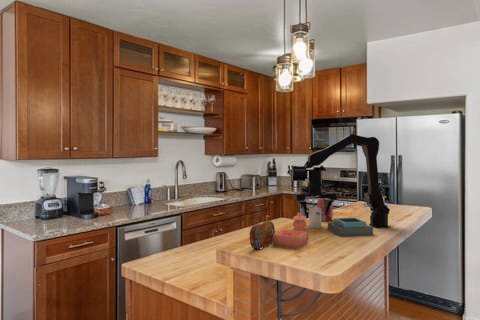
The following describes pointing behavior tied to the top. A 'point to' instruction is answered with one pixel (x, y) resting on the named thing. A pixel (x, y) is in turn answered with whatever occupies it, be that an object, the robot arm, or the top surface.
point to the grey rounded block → (315, 217)
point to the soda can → (321, 205)
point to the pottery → (292, 234)
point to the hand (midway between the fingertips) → (315, 215)
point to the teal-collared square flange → (350, 227)
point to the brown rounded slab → (262, 234)
